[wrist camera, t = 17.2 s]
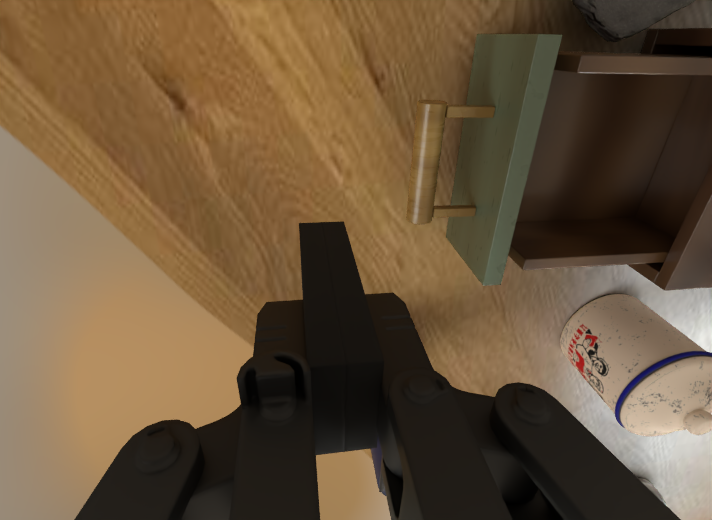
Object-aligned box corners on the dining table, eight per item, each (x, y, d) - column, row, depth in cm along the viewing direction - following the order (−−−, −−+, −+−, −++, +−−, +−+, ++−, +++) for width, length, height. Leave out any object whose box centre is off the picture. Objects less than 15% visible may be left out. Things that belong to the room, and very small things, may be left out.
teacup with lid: (550, 312, 37) (646, 415, 27) (644, 275, 37) (776, 366, 27) (563, 390, 43) (645, 496, 33) (643, 359, 43) (751, 458, 33)
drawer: (389, 239, 30) (414, 290, 24) (405, 31, 23) (445, 30, 17) (626, 229, 33) (701, 272, 27) (701, 40, 26) (824, 43, 20)
